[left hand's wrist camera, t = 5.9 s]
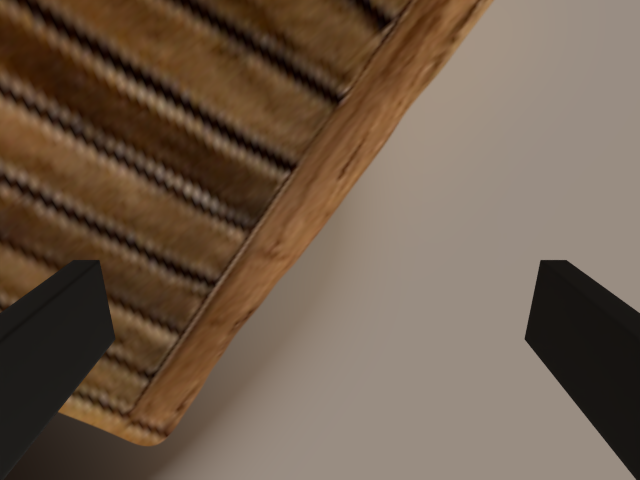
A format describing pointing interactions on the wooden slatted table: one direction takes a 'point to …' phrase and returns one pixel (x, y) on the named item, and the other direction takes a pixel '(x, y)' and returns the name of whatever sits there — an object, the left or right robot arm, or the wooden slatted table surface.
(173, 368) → the wooden slatted table surface
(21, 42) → the wooden slatted table surface
